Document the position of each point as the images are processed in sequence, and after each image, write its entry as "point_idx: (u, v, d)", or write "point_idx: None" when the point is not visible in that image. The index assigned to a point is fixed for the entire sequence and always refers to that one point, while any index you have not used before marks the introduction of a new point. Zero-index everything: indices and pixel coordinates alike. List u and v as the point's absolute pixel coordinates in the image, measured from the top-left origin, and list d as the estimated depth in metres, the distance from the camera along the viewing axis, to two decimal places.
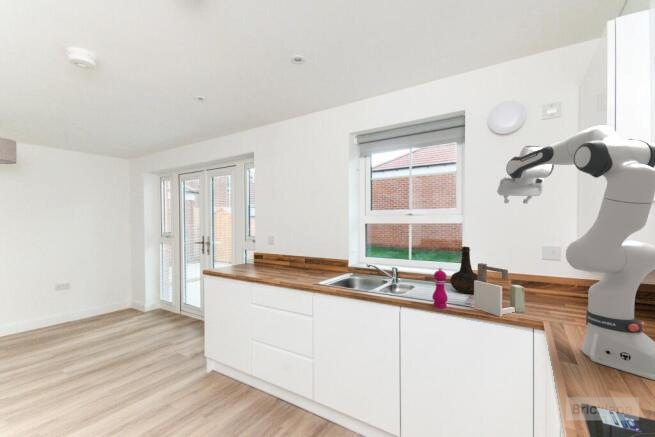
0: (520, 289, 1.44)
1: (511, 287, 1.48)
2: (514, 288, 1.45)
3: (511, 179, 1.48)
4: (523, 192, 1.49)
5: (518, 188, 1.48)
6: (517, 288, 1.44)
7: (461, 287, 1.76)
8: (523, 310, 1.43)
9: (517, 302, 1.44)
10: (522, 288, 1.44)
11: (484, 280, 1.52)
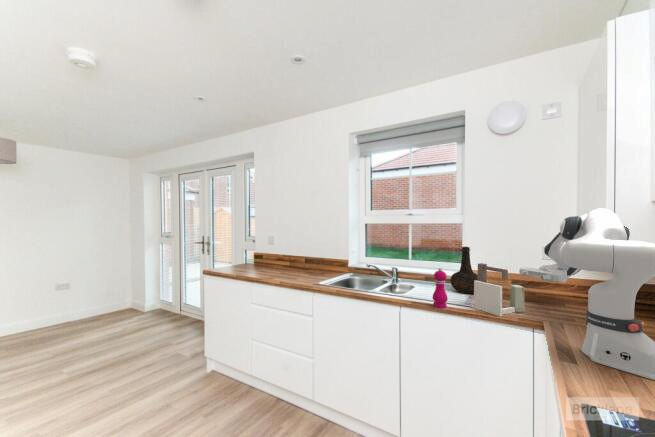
0: (520, 289, 1.44)
1: (511, 287, 1.48)
2: (514, 288, 1.45)
3: None
4: (543, 271, 1.54)
5: (539, 270, 1.57)
6: (517, 288, 1.44)
7: (461, 287, 1.76)
8: (523, 310, 1.43)
9: (517, 302, 1.44)
10: (522, 288, 1.44)
11: (484, 280, 1.52)
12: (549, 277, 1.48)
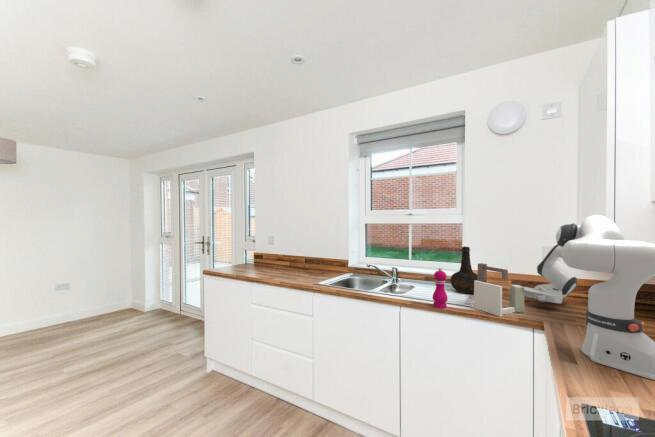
0: (520, 289, 1.44)
1: (511, 287, 1.48)
2: (514, 288, 1.45)
3: None
4: (538, 291, 1.52)
5: (534, 290, 1.55)
6: (517, 288, 1.44)
7: (461, 287, 1.76)
8: (523, 310, 1.43)
9: (517, 302, 1.44)
10: (522, 288, 1.44)
11: (484, 280, 1.52)
12: (544, 298, 1.45)
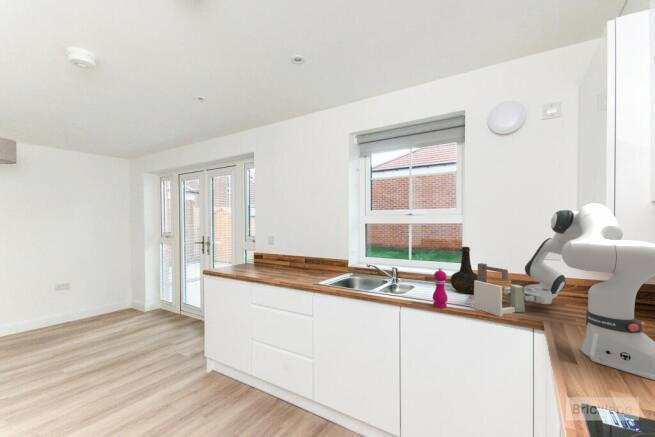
0: (520, 289, 1.44)
1: (511, 287, 1.48)
2: (514, 288, 1.45)
3: None
4: (527, 292, 1.48)
5: None
6: (517, 287, 1.44)
7: (461, 287, 1.76)
8: (523, 310, 1.43)
9: (517, 302, 1.44)
10: (522, 288, 1.44)
11: (484, 280, 1.52)
12: (532, 298, 1.42)
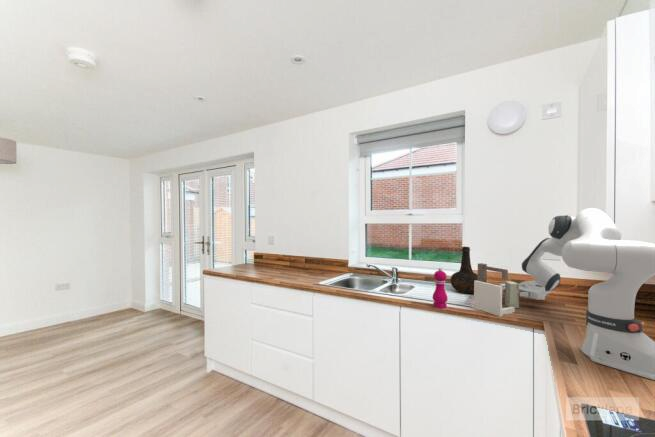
0: (515, 286, 1.48)
1: (506, 284, 1.53)
2: (509, 285, 1.49)
3: None
4: (521, 288, 1.53)
5: None
6: (512, 284, 1.48)
7: (461, 287, 1.76)
8: (517, 306, 1.48)
9: (512, 298, 1.48)
10: (517, 285, 1.48)
11: (484, 280, 1.52)
12: (526, 294, 1.47)
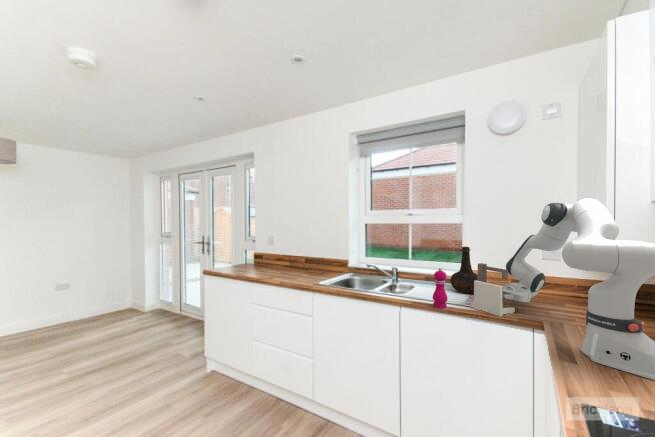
0: None
1: None
2: None
3: None
4: (506, 290, 1.48)
5: (503, 288, 1.51)
6: None
7: (461, 287, 1.76)
8: None
9: None
10: None
11: (484, 280, 1.52)
12: (511, 297, 1.41)
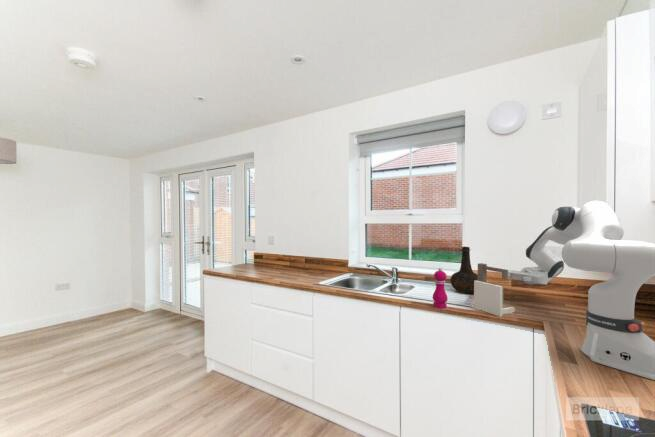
0: None
1: None
2: None
3: None
4: (524, 273, 1.53)
5: (520, 272, 1.57)
6: None
7: (461, 287, 1.76)
8: None
9: None
10: None
11: (484, 280, 1.52)
12: (530, 279, 1.47)
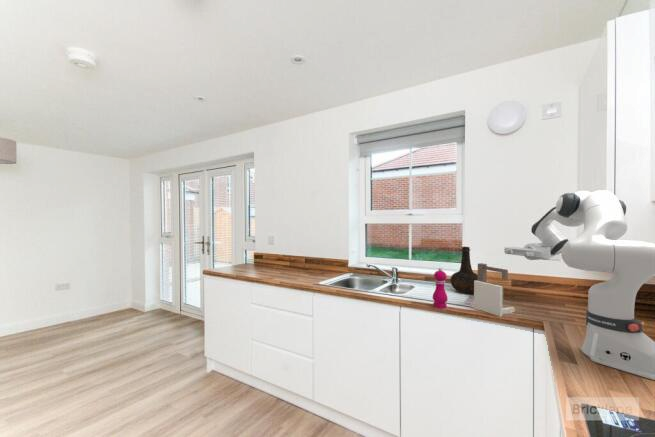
0: None
1: None
2: None
3: None
4: (527, 249, 1.54)
5: (523, 248, 1.58)
6: None
7: (461, 287, 1.76)
8: None
9: None
10: None
11: (484, 280, 1.52)
12: (532, 254, 1.48)
